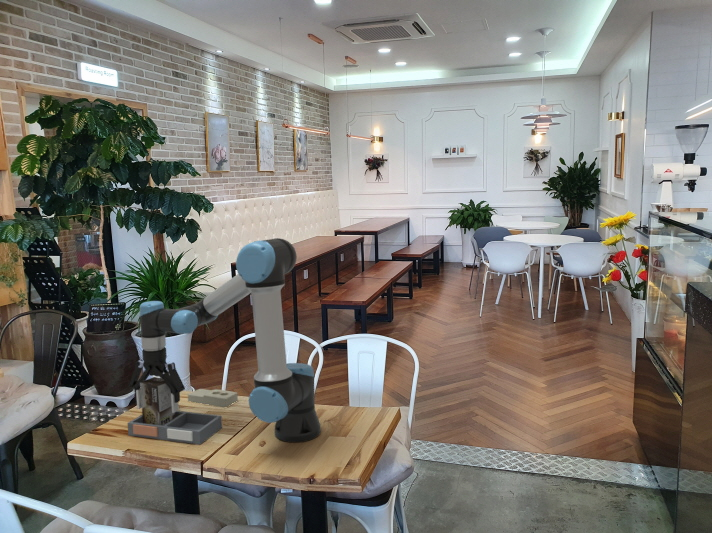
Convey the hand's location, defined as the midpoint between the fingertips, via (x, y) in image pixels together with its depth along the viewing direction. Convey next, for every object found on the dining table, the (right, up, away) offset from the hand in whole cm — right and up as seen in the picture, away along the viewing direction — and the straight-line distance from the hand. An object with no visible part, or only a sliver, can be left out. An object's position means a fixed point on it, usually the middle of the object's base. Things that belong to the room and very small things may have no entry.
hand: (157, 409), depth 189 cm
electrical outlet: (+12, -4, +26) cm, 29 cm away
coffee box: (0, -6, +1) cm, 6 cm away
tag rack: (+6, -7, -1) cm, 10 cm away
